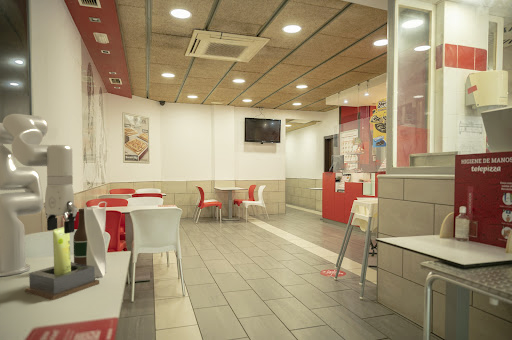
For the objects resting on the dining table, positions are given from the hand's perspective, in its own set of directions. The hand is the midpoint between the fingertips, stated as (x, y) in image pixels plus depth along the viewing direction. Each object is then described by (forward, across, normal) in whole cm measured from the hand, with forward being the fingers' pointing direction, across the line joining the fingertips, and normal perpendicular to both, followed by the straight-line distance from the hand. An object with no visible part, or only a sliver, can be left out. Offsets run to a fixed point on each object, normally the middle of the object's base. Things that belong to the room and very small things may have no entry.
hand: (60, 231), depth 114 cm
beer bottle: (+20, -17, +20) cm, 33 cm away
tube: (+18, +1, 0) cm, 18 cm away
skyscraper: (+20, 0, +14) cm, 24 cm away
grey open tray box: (+19, +1, 0) cm, 19 cm away
